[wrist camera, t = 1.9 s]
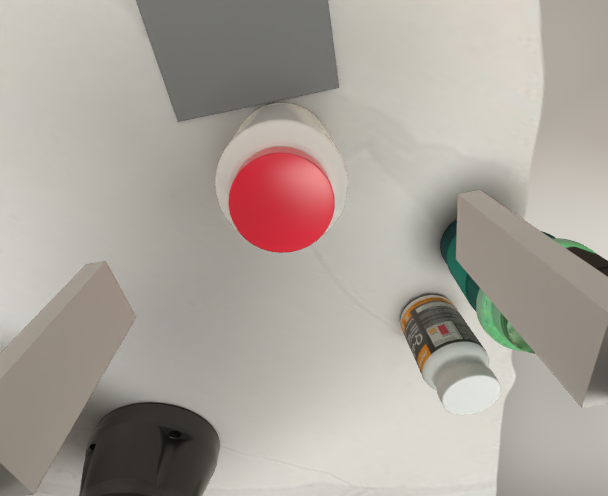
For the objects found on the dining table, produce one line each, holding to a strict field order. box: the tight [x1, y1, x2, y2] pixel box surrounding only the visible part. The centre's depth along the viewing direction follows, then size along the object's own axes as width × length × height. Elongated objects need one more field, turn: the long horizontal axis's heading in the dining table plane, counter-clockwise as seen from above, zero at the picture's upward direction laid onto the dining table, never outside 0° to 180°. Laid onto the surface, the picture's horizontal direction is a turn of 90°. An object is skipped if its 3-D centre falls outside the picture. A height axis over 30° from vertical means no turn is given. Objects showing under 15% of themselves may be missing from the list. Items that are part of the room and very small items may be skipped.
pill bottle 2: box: [400, 295, 501, 415], centre depth 32 cm, size 6×6×10 cm
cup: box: [441, 220, 596, 354], centre depth 26 cm, size 8×8×12 cm
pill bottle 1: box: [215, 103, 348, 253], centre depth 23 cm, size 8×8×11 cm
